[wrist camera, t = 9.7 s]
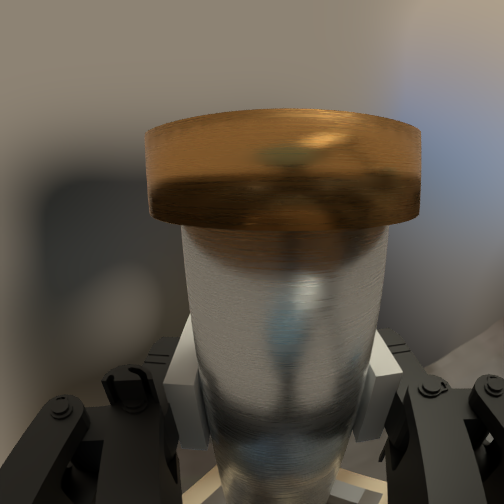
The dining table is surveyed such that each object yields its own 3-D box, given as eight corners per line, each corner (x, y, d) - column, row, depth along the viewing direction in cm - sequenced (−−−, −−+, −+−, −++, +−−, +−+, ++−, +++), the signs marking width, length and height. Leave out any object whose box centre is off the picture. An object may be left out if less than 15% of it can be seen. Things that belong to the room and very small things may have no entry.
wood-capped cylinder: (355, 482, 11) (428, 143, 7) (296, 570, 6) (397, 96, 2) (260, 443, 14) (252, 142, 10) (189, 511, 10) (94, 144, 5)
